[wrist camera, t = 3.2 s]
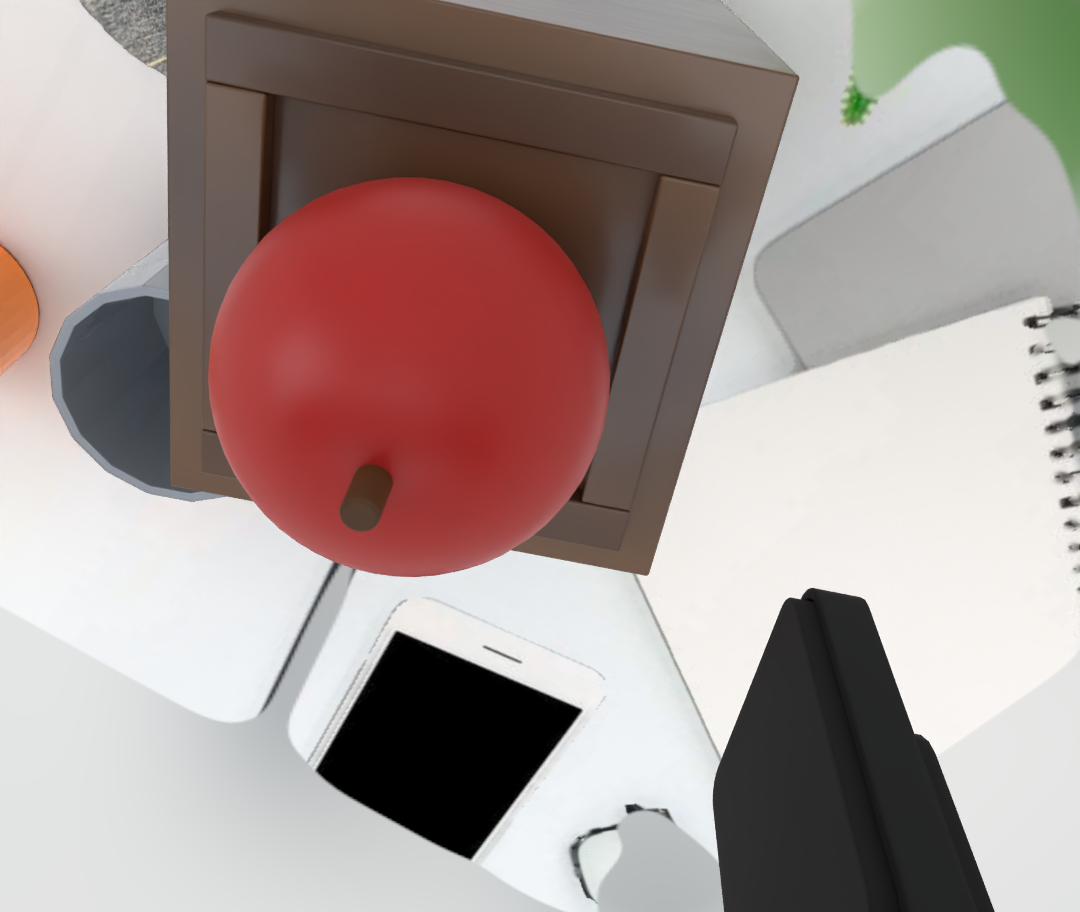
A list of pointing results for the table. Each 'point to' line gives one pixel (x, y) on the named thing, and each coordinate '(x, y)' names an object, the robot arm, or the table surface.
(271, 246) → the apple
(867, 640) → the robot arm
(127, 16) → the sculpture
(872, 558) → the table surface
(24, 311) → the shaker bottle
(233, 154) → the crate
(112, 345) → the steel cup
